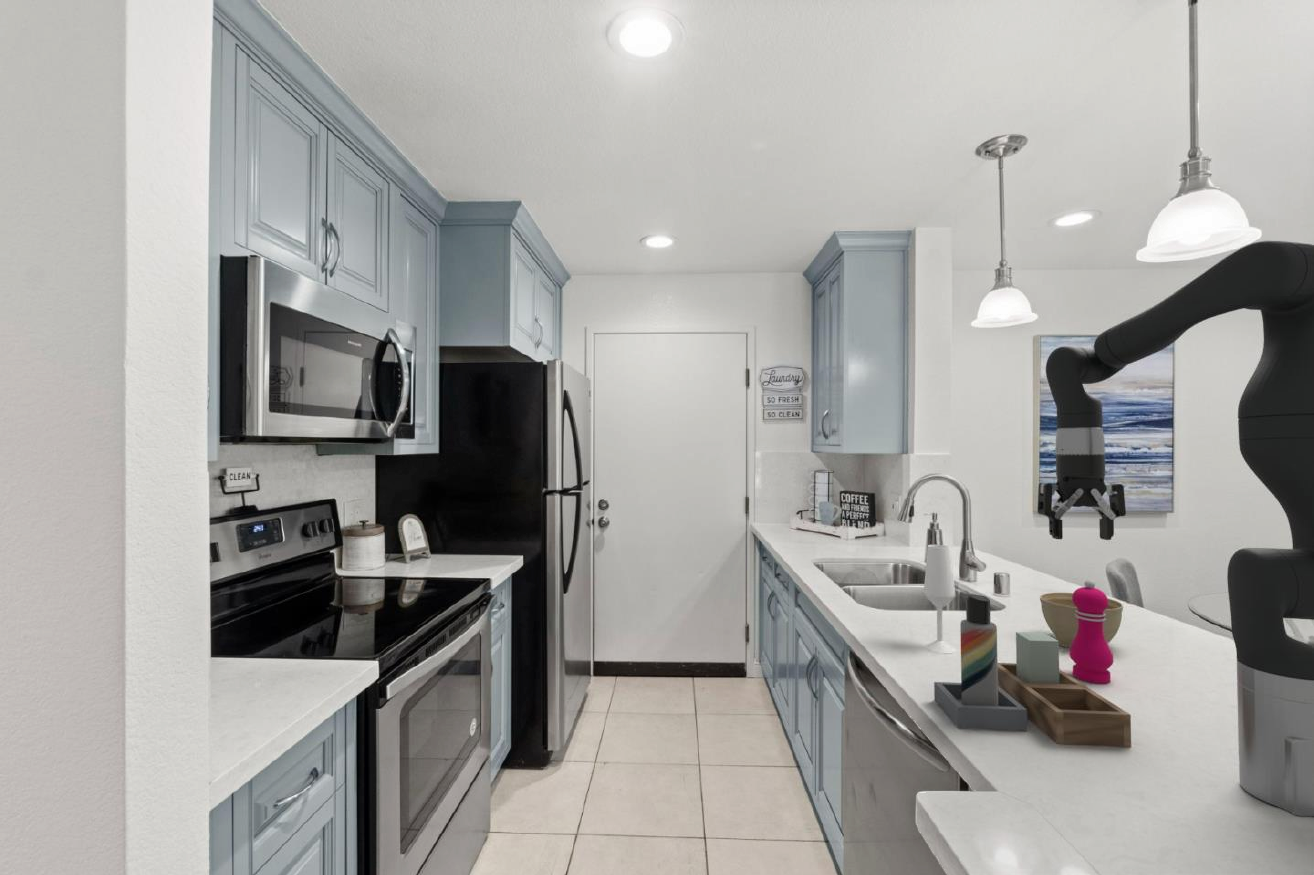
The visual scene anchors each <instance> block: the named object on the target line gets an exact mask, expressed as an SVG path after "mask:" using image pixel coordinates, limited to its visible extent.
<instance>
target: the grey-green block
mask: <svg viewBox="0 0 1314 875" xmlns="http://www.w3.org/2000/svg"><path fill="white" fill-rule="evenodd" d="M1059 645H1060V644H1059V641H1057V639H1055V638H1053V637H1052V636H1050V635H1049V634H1047V633H1045V632H1030V631H1029V632H1024V631H1022V632H1021V631H1018V632H1017V631H1015V648H1016V649H1015V650H1016V651H1015V652H1016V653H1015V654H1016V655H1015V656H1016V657H1015V658H1016V659H1015V660H1016V662H1015V664H1016V668H1017V678H1019V679H1020V680H1021V681H1023V682H1024V683H1043V684H1059V669H1060V646H1059Z"/></svg>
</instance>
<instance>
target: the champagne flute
mask: <svg viewBox="0 0 1314 875" xmlns="http://www.w3.org/2000/svg"><path fill="white" fill-rule="evenodd" d="M924 574H925V575H924V586H923V587H924V588H923V593H924V595H925V597H926V599H927V600H928V601H929V602H930V603H931V604H932V605H934V607H936V625H937V626H936V633H937V634H936V635H937V636H936V639H937V640H933V641H932V642H930V643H928V644H925V645H924V648H925V649H926V650H928V651H929V652H930V651H931V652H934V653H939V654H953V653H954V654H955V653H956V652H957V649H956V648H955V647H953V646H952V645H950V644H948V643H947V642H946V641H945V640H943V639H944V637H943V636H944V635H943V634H944V633H943V632H944V631H943V630H944V628H943V626H944V625H943V624H944V623H943V621H944V620H943V619H944V617H943V608H944V607H946V606H948V605H949V604H950V603H951V602H952V601H953V600H954V599H955V597H956V590H955V589H956V588H955V587H956V586H955V580H954V571H953V562H952V553H951V546H949V545H943V544H928V545H927V552H926V563H925V573H924Z"/></svg>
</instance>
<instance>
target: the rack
mask: <svg viewBox="0 0 1314 875" xmlns="http://www.w3.org/2000/svg"><path fill="white" fill-rule="evenodd" d="M998 686H999V687H1000V688H1001V689H1003V690H1004V691H1005V692H1006V693H1007V694H1009V695H1010V696H1011V697H1012V698H1013V699H1015V700H1016V701H1017V702H1018V703H1019V704H1021V705H1022V706H1023V707H1024V708H1025V709H1027V720H1029V721H1030V722H1031V723H1032V724H1033V725H1035V726H1036V727H1037V728H1039V729H1040V730H1041V731H1042V732H1043V733H1044V734H1045V735H1046V736H1048V737H1049V738H1050V739H1051V740H1052V741H1053V742H1054V743H1056V744H1057V745H1060V744H1061V745H1079V746H1081V745H1082V746H1083V745H1084V746H1099V747H1100V746H1104V747H1105V746H1106V747H1122V748H1123V747H1125V748H1127V747H1128V748H1132V721H1131V720H1132V719H1131V718H1132V716H1131V714H1130V713H1129V712H1127V711H1126V710H1124V709H1123V708H1121V707H1119V706H1118V705H1116V704H1114V703H1113V702H1111V701H1109V700H1108V699H1106V698H1105V697H1104V696H1102V695H1100V694H1099V693H1097V692H1096V691H1094V690H1092V689H1091V688H1090V687H1088V686H1086V685H1085V684H1083V683H1081V682H1080V681H1079V680H1077V679H1075V678H1074V677H1073V676H1070V675H1069V674H1067V673H1066V672H1064V671H1062V669H1060V668H1059V684H1043V683H1024V682H1023V681H1021V680H1020V679H1019V678H1017V668H1016V662H1015V663H1013V662H1012V663H1010V662H1007V663H1005V662H998Z"/></svg>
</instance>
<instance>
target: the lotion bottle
mask: <svg viewBox="0 0 1314 875" xmlns="http://www.w3.org/2000/svg"><path fill="white" fill-rule="evenodd" d="M965 611H966V612H965V614H966V616H965V618H966V619H962V620H961V621H960V627H959V628H960V631H959V632H960V679H961V680H960V683H961V693H962V705H975V706H998V663H999V662H998V629H997V628H998V627H997V625H996V624H995V623H993V622H991V599H990V598H988V597H987V596H985V595H981V594H976V593H969V594H967V597H965Z"/></svg>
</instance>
